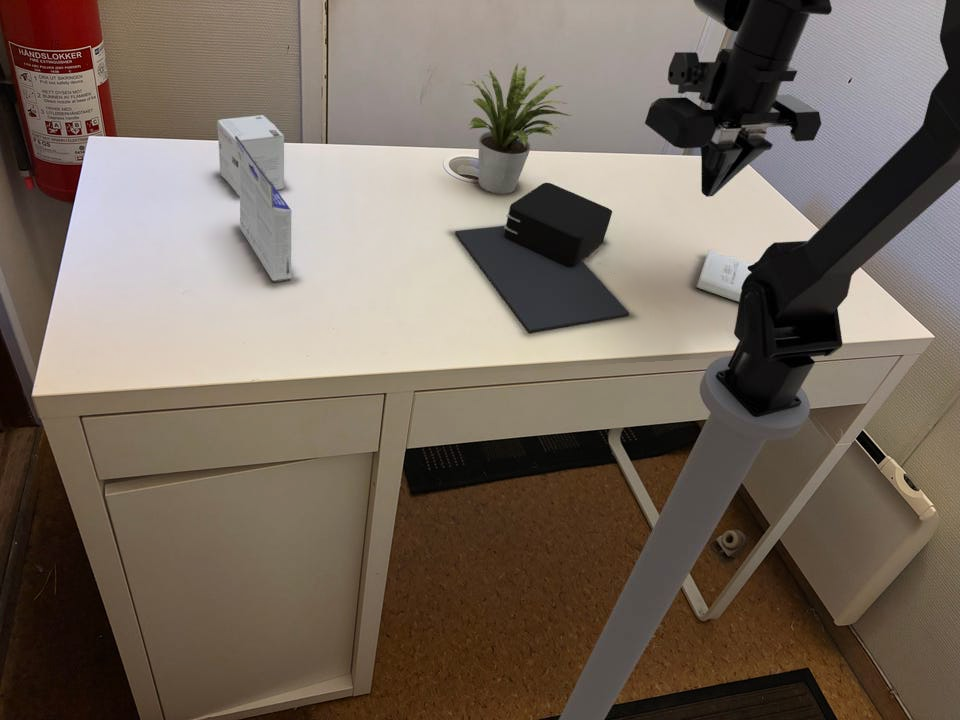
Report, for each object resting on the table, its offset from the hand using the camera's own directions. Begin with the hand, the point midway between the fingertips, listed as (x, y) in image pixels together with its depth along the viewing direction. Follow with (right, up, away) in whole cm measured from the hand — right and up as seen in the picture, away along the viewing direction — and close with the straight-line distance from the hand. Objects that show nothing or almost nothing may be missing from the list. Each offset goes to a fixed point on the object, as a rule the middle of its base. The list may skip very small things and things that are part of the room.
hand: (706, 194), depth 82 cm
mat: (-18, -8, +7) cm, 21 cm away
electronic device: (-11, -3, +10) cm, 15 cm away
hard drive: (+9, -9, +12) cm, 17 cm away
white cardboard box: (-53, +4, +13) cm, 55 cm away
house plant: (-23, +5, +21) cm, 32 cm away
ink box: (-48, -6, +1) cm, 49 cm away
